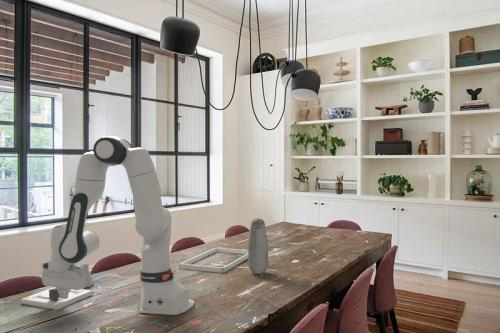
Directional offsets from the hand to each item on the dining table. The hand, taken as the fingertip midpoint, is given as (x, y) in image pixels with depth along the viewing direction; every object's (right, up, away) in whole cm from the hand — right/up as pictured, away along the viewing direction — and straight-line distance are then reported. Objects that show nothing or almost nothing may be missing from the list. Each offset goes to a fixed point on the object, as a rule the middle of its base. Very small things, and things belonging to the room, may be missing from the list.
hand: (64, 298), depth 154 cm
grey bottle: (+79, -2, +41) cm, 89 cm away
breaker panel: (-7, -3, +8) cm, 11 cm away
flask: (-3, -3, +26) cm, 26 cm away
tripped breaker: (-5, -1, +2) cm, 5 cm away
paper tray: (+57, -2, +67) cm, 88 cm away
